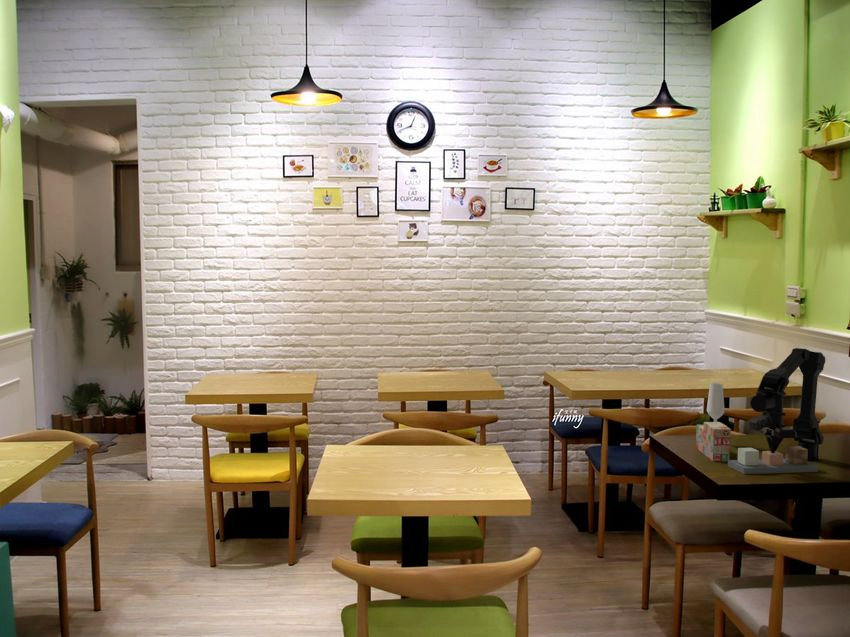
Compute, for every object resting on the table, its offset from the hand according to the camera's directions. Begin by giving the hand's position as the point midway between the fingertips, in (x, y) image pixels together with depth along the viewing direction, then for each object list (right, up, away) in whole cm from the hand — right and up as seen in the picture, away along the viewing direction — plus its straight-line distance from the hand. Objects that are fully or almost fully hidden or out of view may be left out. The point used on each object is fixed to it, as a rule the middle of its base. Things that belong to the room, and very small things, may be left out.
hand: (772, 452), depth 274 cm
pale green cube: (-9, -4, -1) cm, 10 cm away
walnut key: (+9, -4, +1) cm, 10 cm away
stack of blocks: (-13, -5, +21) cm, 25 cm away
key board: (0, -6, 0) cm, 6 cm away
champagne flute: (-6, -3, +40) cm, 40 cm away
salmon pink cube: (0, -5, 0) cm, 5 cm away
